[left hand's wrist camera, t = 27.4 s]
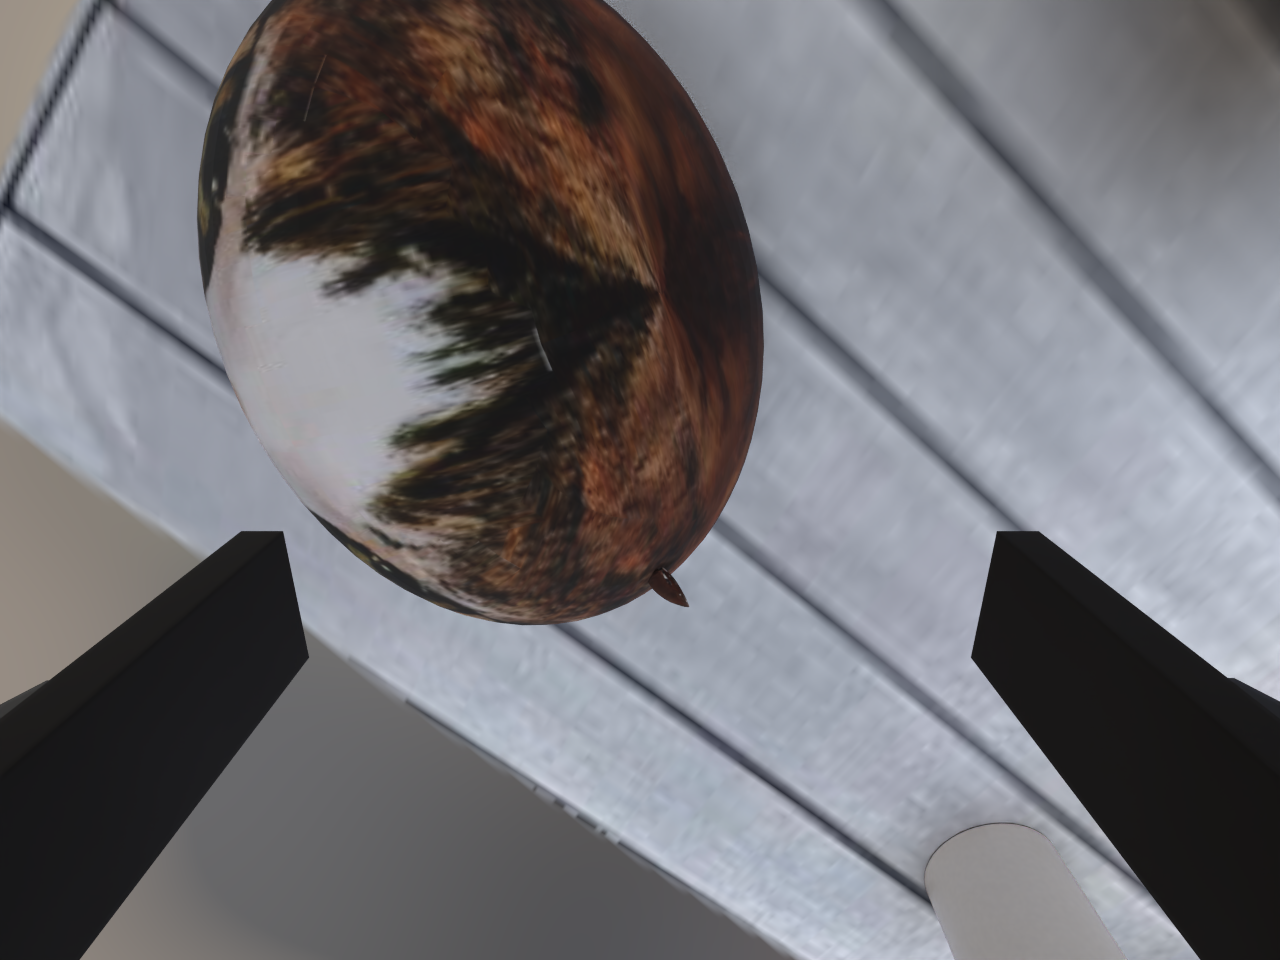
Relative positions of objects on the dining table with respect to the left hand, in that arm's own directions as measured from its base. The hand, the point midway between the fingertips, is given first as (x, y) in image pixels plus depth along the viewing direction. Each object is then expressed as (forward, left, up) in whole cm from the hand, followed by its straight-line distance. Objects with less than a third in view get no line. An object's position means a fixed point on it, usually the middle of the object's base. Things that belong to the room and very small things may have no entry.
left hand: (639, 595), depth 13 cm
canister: (+39, +14, -22) cm, 47 cm away
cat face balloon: (-4, -4, -22) cm, 23 cm away
